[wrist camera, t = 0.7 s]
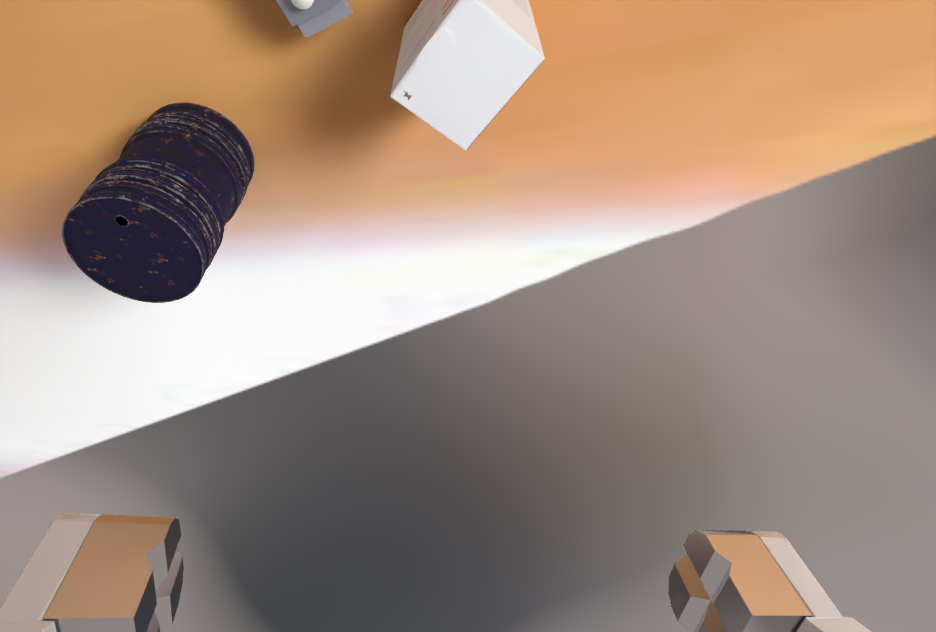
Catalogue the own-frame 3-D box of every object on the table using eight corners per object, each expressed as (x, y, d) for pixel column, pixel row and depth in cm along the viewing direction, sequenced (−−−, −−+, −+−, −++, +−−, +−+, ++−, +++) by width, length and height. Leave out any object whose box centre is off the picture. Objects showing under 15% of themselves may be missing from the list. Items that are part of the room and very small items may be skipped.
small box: (465, 78, 50) (464, 154, 41) (401, 28, 48) (386, 98, 38) (530, -6, 46) (547, 59, 37) (465, -66, 43) (465, -13, 34)
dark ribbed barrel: (264, 203, 59) (218, 306, 48) (160, 198, 58) (90, 301, 47) (244, 104, 52) (185, 198, 41) (127, 97, 51) (36, 191, 41)
